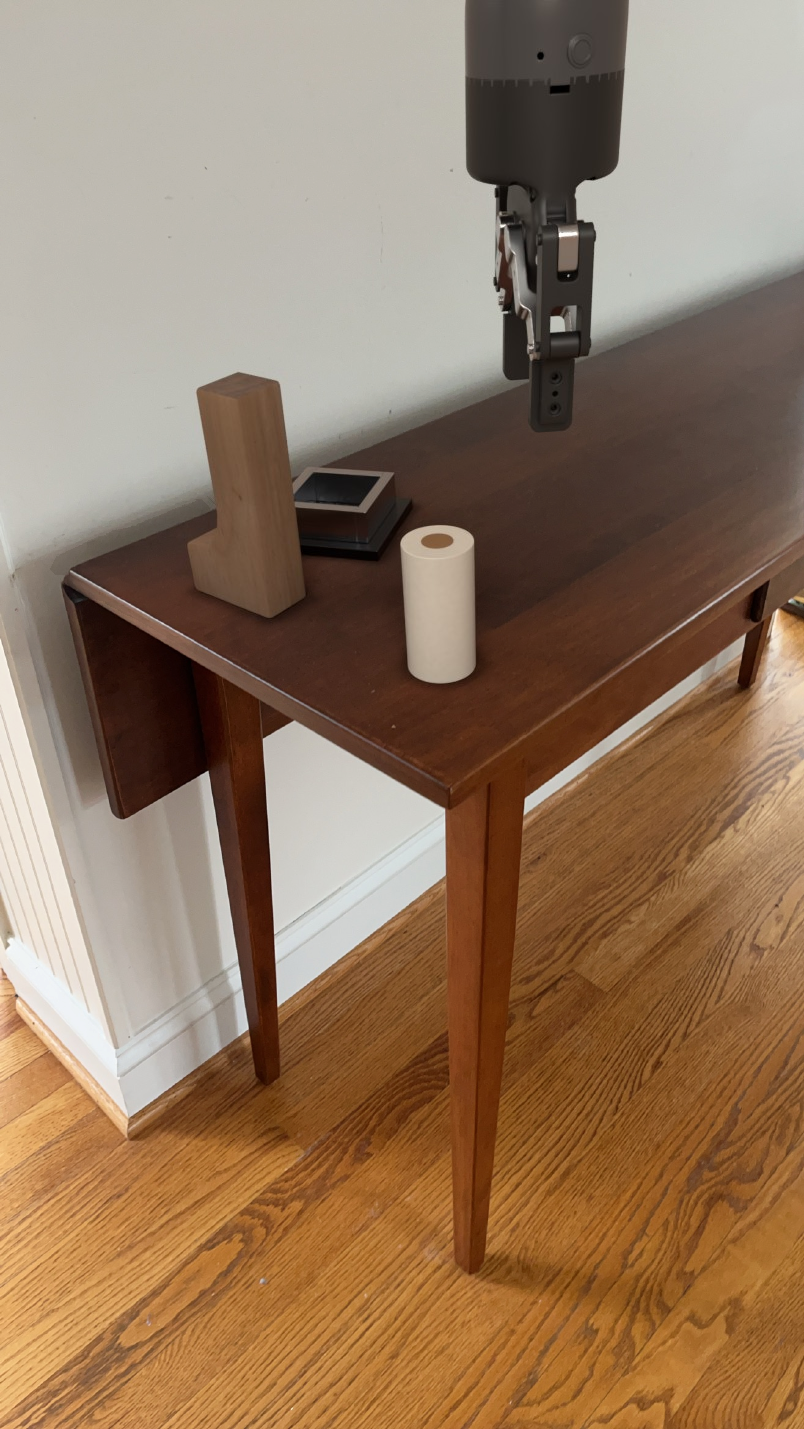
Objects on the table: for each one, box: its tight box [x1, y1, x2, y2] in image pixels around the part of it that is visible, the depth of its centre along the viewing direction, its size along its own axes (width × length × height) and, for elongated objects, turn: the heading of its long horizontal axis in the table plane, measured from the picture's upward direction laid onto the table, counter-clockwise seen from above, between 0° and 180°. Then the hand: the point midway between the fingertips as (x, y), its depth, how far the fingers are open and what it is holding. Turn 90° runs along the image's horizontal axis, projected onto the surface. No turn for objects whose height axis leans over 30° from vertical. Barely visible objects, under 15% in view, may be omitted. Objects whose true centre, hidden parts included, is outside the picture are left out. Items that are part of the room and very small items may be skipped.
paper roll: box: [400, 524, 477, 684], centre depth 72 cm, size 5×5×10 cm
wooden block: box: [186, 371, 307, 619], centre depth 80 cm, size 9×4×18 cm, turn 52°
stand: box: [292, 466, 413, 562], centre depth 93 cm, size 11×11×4 cm
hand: (534, 402), depth 58 cm, fingers open, 8 cm apart
